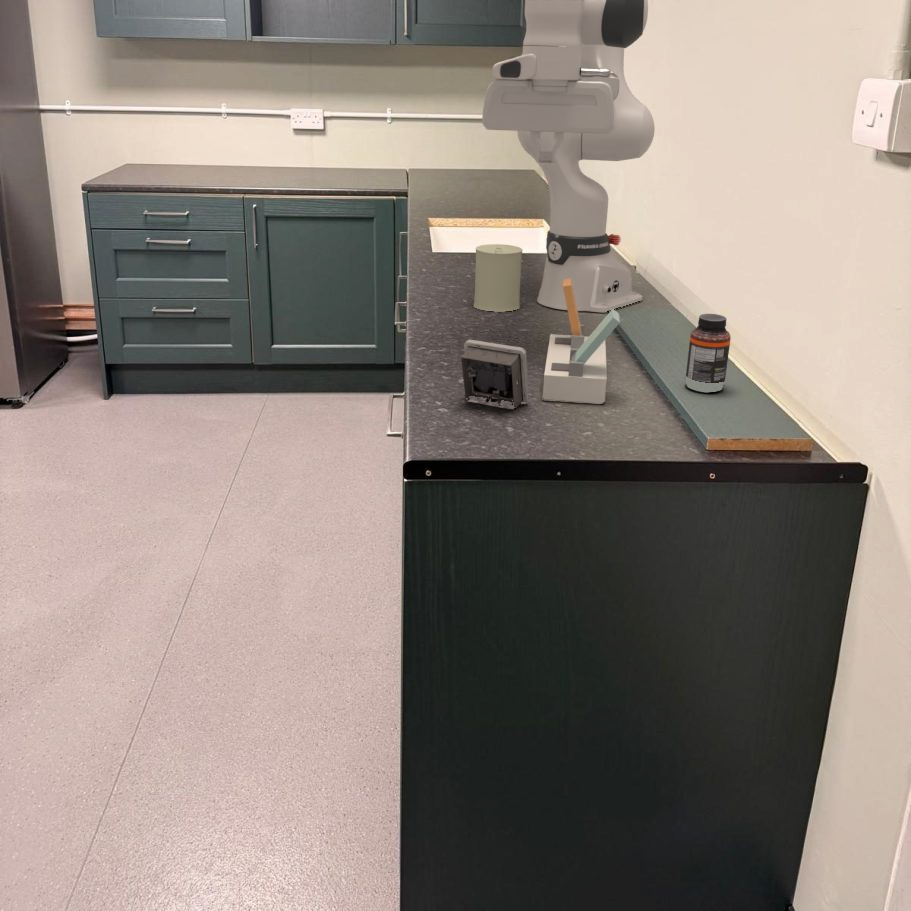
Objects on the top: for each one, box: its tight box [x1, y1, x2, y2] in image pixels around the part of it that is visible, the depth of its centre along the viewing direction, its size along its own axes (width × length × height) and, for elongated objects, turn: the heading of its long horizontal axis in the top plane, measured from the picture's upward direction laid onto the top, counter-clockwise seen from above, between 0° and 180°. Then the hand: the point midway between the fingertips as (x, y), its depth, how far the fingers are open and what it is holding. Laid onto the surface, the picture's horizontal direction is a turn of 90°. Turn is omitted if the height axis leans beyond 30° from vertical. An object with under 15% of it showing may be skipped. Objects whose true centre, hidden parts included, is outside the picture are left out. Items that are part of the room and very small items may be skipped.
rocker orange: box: [563, 278, 582, 336], centre depth 154 cm, size 1×5×10 cm, turn 172°
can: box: [473, 243, 523, 313], centre depth 190 cm, size 9×9×12 cm
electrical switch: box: [460, 339, 530, 408], centre depth 138 cm, size 9×5×9 cm, turn 65°
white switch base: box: [542, 324, 608, 402], centre depth 153 cm, size 9×28×6 cm, turn 172°
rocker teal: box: [572, 309, 621, 365], centre depth 141 cm, size 1×5×10 cm
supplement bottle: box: [685, 313, 732, 383], centre depth 147 cm, size 6×6×11 cm
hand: (545, 162), depth 152 cm, fingers closed
